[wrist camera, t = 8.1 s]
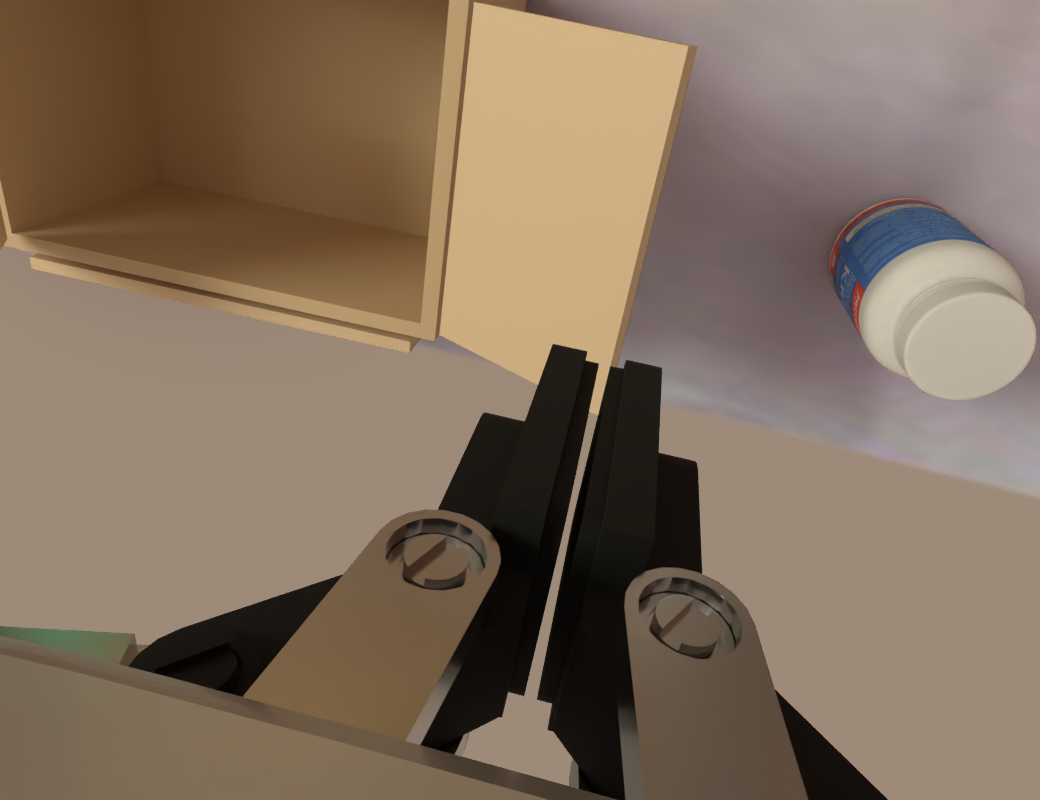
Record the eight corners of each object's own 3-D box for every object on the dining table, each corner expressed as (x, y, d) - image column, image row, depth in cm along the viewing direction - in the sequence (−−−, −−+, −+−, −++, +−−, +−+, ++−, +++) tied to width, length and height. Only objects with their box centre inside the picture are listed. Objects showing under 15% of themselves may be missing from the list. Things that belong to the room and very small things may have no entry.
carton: (534, -39, 29) (477, -57, 21) (491, 276, 36) (435, 361, 28) (124, -111, 31) (-89, -155, 22) (158, 205, 38) (5, 265, 29)
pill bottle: (803, 244, 33) (849, 327, 24) (921, 169, 30) (1017, 233, 22) (863, 334, 34) (926, 442, 26) (980, 270, 32) (1091, 366, 23)
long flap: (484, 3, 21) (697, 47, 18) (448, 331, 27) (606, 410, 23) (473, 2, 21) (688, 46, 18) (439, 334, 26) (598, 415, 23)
